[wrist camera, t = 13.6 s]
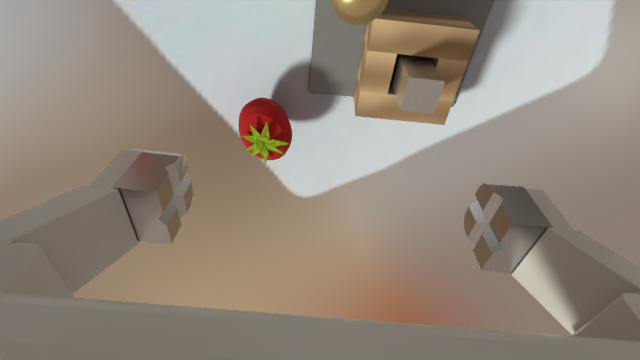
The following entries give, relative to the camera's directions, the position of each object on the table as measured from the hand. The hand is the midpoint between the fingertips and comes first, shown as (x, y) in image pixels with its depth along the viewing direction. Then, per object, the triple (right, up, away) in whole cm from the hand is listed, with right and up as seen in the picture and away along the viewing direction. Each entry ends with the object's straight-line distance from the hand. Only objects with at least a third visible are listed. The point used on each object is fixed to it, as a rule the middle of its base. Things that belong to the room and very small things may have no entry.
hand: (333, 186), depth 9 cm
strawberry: (-7, +9, +33) cm, 35 cm away
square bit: (+9, +13, +27) cm, 32 cm away
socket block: (+9, +14, +28) cm, 33 cm away
